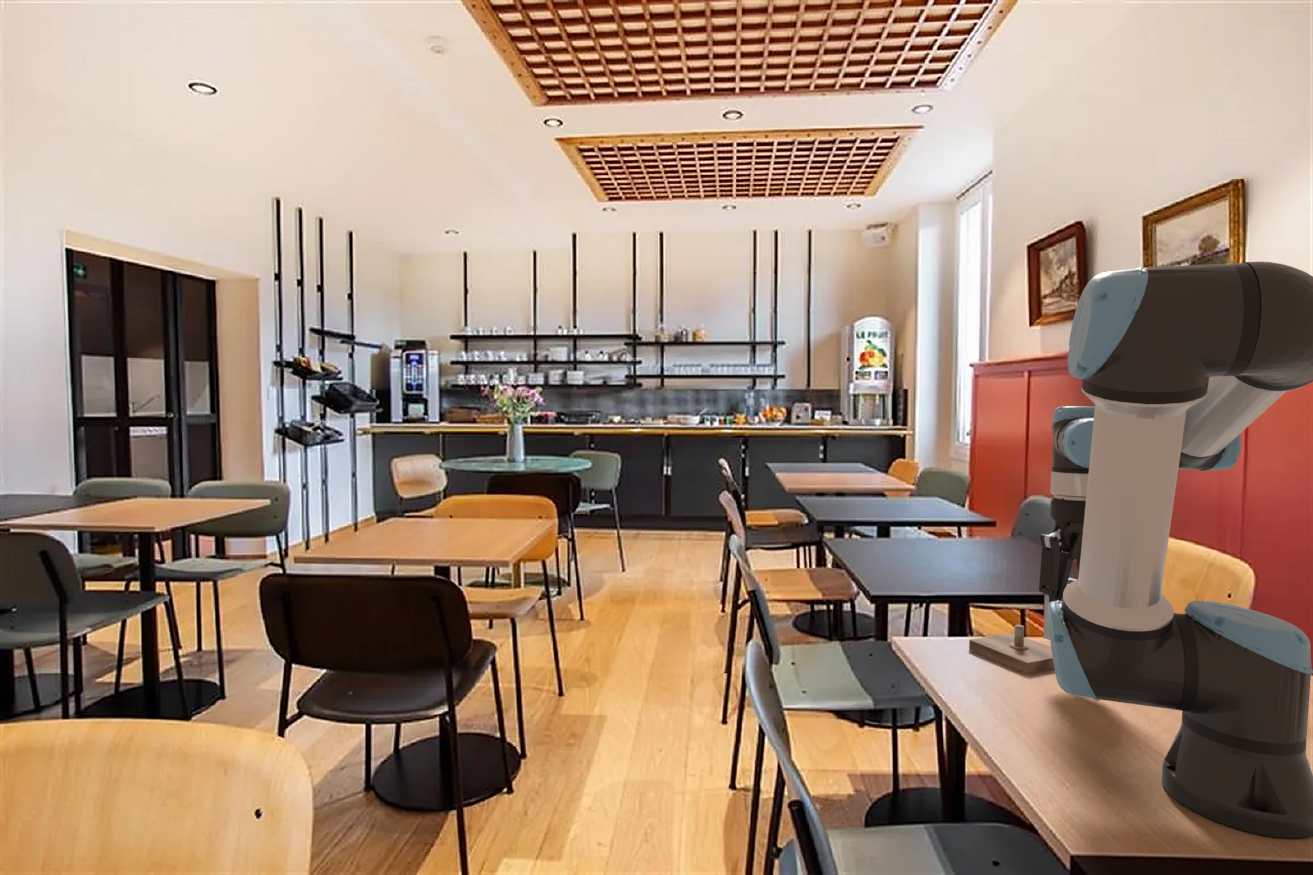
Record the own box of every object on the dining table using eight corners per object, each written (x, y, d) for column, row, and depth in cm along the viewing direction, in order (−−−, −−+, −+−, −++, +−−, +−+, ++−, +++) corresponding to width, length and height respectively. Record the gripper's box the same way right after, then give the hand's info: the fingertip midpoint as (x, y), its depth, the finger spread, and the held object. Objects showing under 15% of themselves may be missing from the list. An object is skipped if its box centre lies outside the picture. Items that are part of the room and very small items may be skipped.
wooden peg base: (1027, 674, 126) (1028, 640, 126) (969, 650, 138) (970, 619, 138) (1070, 665, 130) (1071, 632, 130) (1010, 642, 142) (1011, 612, 142)
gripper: (1056, 502, 113) (1052, 646, 114) (1135, 498, 121) (1131, 633, 121) (1016, 497, 120) (1012, 632, 121) (1093, 493, 128) (1089, 621, 128)
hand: (1071, 632), depth 121 cm, fingers closed on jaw, 6 cm apart
